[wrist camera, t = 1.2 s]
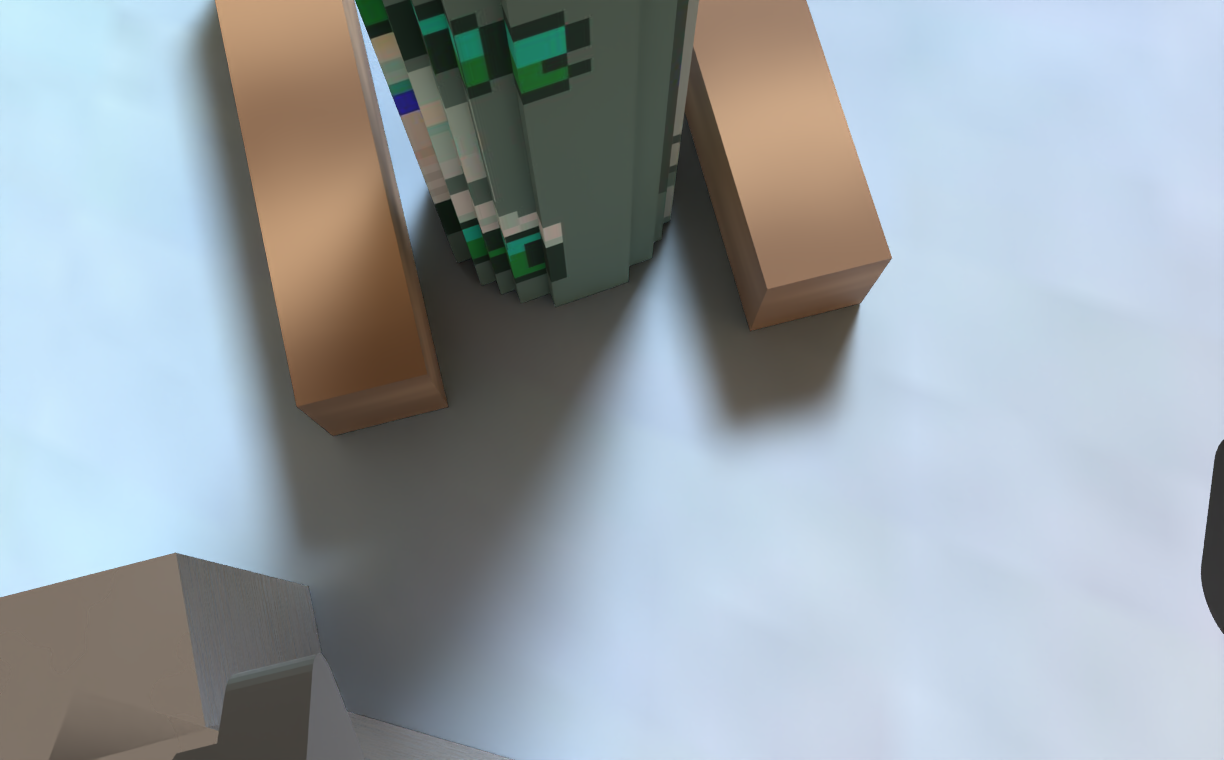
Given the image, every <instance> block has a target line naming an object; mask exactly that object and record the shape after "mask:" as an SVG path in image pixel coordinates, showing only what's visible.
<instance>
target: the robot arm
mask: <svg viewBox="0 0 1224 760" xmlns="http://www.w3.org/2000/svg"><path fill="white" fill-rule="evenodd" d="M1201 580H1202V587H1203V592H1204V595H1205V599H1206V602H1207V604H1208V607H1209V610H1210V612H1211V614H1212V616H1213V618H1214V620H1215V622H1216V623H1217V625H1218V627H1219V628H1220V630H1221V631H1222V633H1223V634H1224V440H1223V441H1222V442H1221V443H1220V445H1219V446H1218V449H1217V451H1216V455H1215V460H1214V468H1213V476H1212V484H1211V492H1210V500H1209V508H1208V516H1207V524H1206V532H1205V540H1204V548H1203V556H1202V564H1201ZM172 760H365V757H364V754H363V752H362V749H361V747H360V744H359V741H358V739H357V736H356V733H355V731H354V728H353V726H352V723H351V720H350V718H349V715H348V713H347V710H346V707H345V705H344V702H343V699H342V697H341V694H340V692H339V689H338V686H337V684H336V681H335V679H334V676H333V673H332V671H331V668H330V666H329V664H328V662H327V660H326V659H325V658H324V656H323V655H321V654H315V655H311V656H307V657H303V658H298V659H294V660H290V661H286V662H282V663H278V664H274V665H270V666H265V667H261V668H257V669H253V670H249V671H245V672H241V673H237V674H233V675H232V676H231V677H230V678H229V680H228V682H227V685H226V690H225V695H224V702H223V708H222V714H221V721H220V727H219V734H218V740H217V744H213V745H209V746H205V747H201V748H196V749H192V750H188V751H184V752H180V753H176V755H175V756H174V758H173V759H172Z"/></svg>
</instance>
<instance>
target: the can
mask: <svg viewBox="0 0 1224 760" xmlns="http://www.w3.org/2000/svg"><path fill="white" fill-rule="evenodd" d="M355 1H356V4H357V7H358V9H359V12H360V14H361V17H362V20H363V22H364V25H365V27H366V30H367V32H368V35H369V38H370V40H371V43H372V45H373V48H374V50H375V53H376V56H377V58H378V61H379V63H380V66H381V68H382V71H383V74H384V76H385V79H386V81H387V84H388V86H389V89H390V92H391V94H392V97H393V99H394V102H395V104H396V107H397V110H398V112H399V115H400V117H401V120H402V122H403V125H404V128H405V130H406V133H407V135H408V138H409V140H410V143H411V146H412V148H413V151H414V153H415V156H416V159H417V161H418V164H419V166H420V169H421V171H422V174H423V177H424V179H425V182H426V184H427V187H428V189H429V192H430V195H431V197H432V200H433V202H434V205H435V207H436V210H437V213H438V215H439V218H440V220H441V223H442V225H443V228H444V231H445V233H446V236H447V238H448V241H449V243H450V246H451V249H452V251H453V254H454V256H455V259H456V261H457V263H459V262H462V261H465V260H468V259H470V258H472V260H473V263H474V266H475V269H476V271H477V274H478V277H479V280H480V283H481V286H482V285H485V284H488V283H491V282H494V281H497V284H498V287H499V290H500V293H501V294H504V293H507V292H510V291H513V290H516V291H517V294H518V297H519V300H520V302H521V303H524V302H526V301H529V300H532V299H535V298H538V297H541V296H544V295H547V294H551V297H552V299H553V302H554V305H555V307H558V306H560V305H563V304H566V303H569V302H572V301H575V300H578V299H581V298H584V297H586V296H589V295H592V294H595V293H598V292H601V291H604V290H607V289H610V288H612V287H615V286H618V285H621V284H624V283H627V282H629V266H631V265H634V264H637V263H639V262H642V261H645V260H648V259H651V258H652V254H653V244H654V242H655V241H658V240H661V236H662V228H663V223H666V222H669V221H670V218H671V210H672V203H673V195H674V187H675V180H676V172H677V164H678V157H679V149H680V142H681V134H682V126H683V119H684V111H685V103H686V96H687V88H688V80H689V73H690V65H691V57H692V50H693V42H694V35H695V27H696V19H697V12H698V4H699V0H355Z"/></svg>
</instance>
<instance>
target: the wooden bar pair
mask: <svg viewBox="0 0 1224 760" xmlns="http://www.w3.org/2000/svg"><path fill="white" fill-rule="evenodd" d="M215 3H216V8H217V13H218V18H219V23H220V27H221V32H222V37H223V42H224V47H225V52H226V57H227V62H228V67H229V72H230V77H231V82H232V87H233V92H234V97H235V102H236V107H237V112H238V117H239V122H240V127H241V132H242V137H243V142H244V147H245V152H246V157H247V162H248V167H249V172H250V177H251V182H252V187H253V192H254V197H255V202H256V207H257V212H258V217H259V222H260V227H261V232H262V237H263V242H264V247H265V252H266V257H267V262H268V267H269V272H270V277H271V282H272V287H273V292H274V297H275V302H276V307H277V312H278V317H279V322H280V327H281V332H282V337H283V342H284V347H285V352H286V357H287V361H288V366H289V371H290V376H291V381H292V386H293V391H294V396H295V401H296V406H297V407H298V408H299V409H300V410H301V411H303V412H304V413H305V414H306V415H307V416H309V417H310V418H311V419H312V420H314V421H315V422H316V423H317V424H319V425H320V426H321V427H322V428H324V429H325V430H326V431H327V432H328V433H330V434H331V435H332V436H335V435H339V434H343V433H347V432H351V431H355V430H359V429H363V428H367V427H371V426H375V425H379V424H383V423H387V422H391V421H395V420H398V419H402V418H406V417H410V416H414V415H418V414H422V413H426V412H430V411H434V410H438V409H442V408H446V407H448V403H447V399H446V394H445V390H444V386H443V382H442V377H441V373H440V369H439V364H438V360H437V356H436V351H435V347H434V343H433V338H432V334H431V330H430V325H429V321H428V317H427V312H426V308H425V304H424V300H423V295H422V291H421V287H420V282H419V278H418V274H417V269H416V265H415V261H414V256H413V252H412V248H411V243H410V239H409V235H408V231H407V226H406V222H405V218H404V213H403V209H402V205H401V200H400V196H399V192H398V187H397V183H396V179H395V174H394V170H393V166H392V161H391V157H390V153H389V149H388V144H387V140H386V136H385V131H384V127H383V123H382V118H381V114H380V110H379V105H378V101H377V97H376V92H375V88H374V84H373V80H372V75H371V71H370V67H369V62H368V58H367V54H366V49H365V45H364V41H363V36H362V32H361V28H360V23H359V19H358V15H357V10H356V6H355V2H354V0H215ZM684 112H685V115H686V118H687V122H688V125H689V128H690V132H691V135H692V138H693V142H694V145H695V148H696V152H697V155H698V158H699V162H700V165H701V169H702V172H703V175H704V179H705V182H706V185H707V189H708V192H709V195H710V199H711V202H712V205H713V209H714V212H715V215H716V219H717V222H718V225H719V229H720V232H721V236H722V239H723V242H724V246H725V249H726V252H727V256H728V259H729V262H730V266H731V269H732V272H733V276H734V279H735V282H736V286H737V289H738V293H739V296H740V299H741V303H742V306H743V309H744V313H745V316H746V319H747V323H748V326H749V329H750V331H752V330H756V329H760V328H764V327H768V326H772V325H776V324H780V323H784V322H788V321H792V320H796V319H800V318H804V317H808V316H812V315H816V314H820V313H824V312H828V311H832V310H836V309H840V308H844V307H848V306H852V305H856V304H860V303H861V302H862V301H863V299H864V298H865V296H866V295H867V293H868V292H869V291H870V289H871V288H872V286H873V285H874V283H875V282H876V280H877V279H878V278H879V276H880V275H881V273H882V272H883V270H884V269H885V267H886V266H887V265H888V263H889V262H890V260H891V259H892V257H891V254H890V251H889V248H888V245H887V242H886V239H885V236H884V233H883V230H882V227H881V224H880V221H879V218H878V215H877V212H876V209H875V206H874V203H873V200H872V197H871V194H870V191H869V188H868V185H867V182H866V179H865V176H864V173H863V170H862V167H861V164H860V161H859V158H858V155H857V152H856V149H855V146H854V143H853V140H852V137H851V134H850V131H849V128H848V125H847V122H846V119H845V116H844V113H843V110H842V107H841V104H840V101H839V98H838V95H837V92H836V89H835V86H834V83H833V80H832V77H831V74H830V71H829V68H828V65H827V62H826V59H825V56H824V53H823V50H822V47H821V44H820V41H819V38H818V35H817V32H816V29H815V26H814V23H813V20H812V17H811V14H810V11H809V8H808V5H807V2H806V0H699V4H698V12H697V19H696V27H695V35H694V42H693V50H692V57H691V65H690V73H689V80H688V88H687V96H686V103H685V111H684Z"/></svg>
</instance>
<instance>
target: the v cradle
mask: <svg viewBox="0 0 1224 760" xmlns="http://www.w3.org/2000/svg"><path fill="white" fill-rule="evenodd" d="M315 654H321V655H322V652H321V647H320V641H319V636H318V631H317V626H316V621H315V616H314V611H313V606H312V601H311V595H310V590H309V586H306V585H302V584H298V583H294V582H290V581H286V580H282V579H278V578H274V577H270V576H266V575H262V574H258V573H254V572H251V571H247V570H243V569H239V568H235V567H231V566H227V565H223V564H219V563H215V562H211V561H207V560H203V559H199V558H195V557H191V556H187V555H183V554H179V553H173V554H169V555H165V556H161V557H157V558H153V559H149V560H146V561H142V562H138V563H134V564H130V565H126V566H122V567H118V568H114V569H110V570H106V571H102V572H99V573H95V574H91V575H87V576H83V577H79V578H75V579H71V580H67V581H63V582H59V583H55V584H52V585H48V586H44V587H40V588H36V589H32V590H28V591H24V592H20V593H16V594H12V595H8V596H5V597H1V598H0V760H172V759H173V758H174V756H175V755H176V753H180V752H184V751H188V750H192V749H196V748H201V747H205V746H209V745H213V744H217V740H218V734H219V727H220V721H221V714H222V708H223V702H224V695H225V690H226V685H227V682H228V680H229V678H230V677H231V676H232V675H233V674H237V673H241V672H245V671H249V670H253V669H257V668H261V667H265V666H270V665H274V664H278V663H282V662H286V661H290V660H294V659H298V658H303V657H307V656H311V655H315ZM347 713H348V715H349V718H350V720H351V723H352V726H353V728H354V731H355V733H356V736H357V739H358V741H359V744H360V747H361V749H362V752H363V754H364V757H365V760H513V759H509V758H506V757H502V756H499V755H496V754H492V753H489V752H485V751H482V750H478V749H475V748H472V747H468V746H465V745H461V744H458V743H454V742H451V741H448V740H444V739H441V738H437V737H434V736H430V735H427V734H424V733H420V732H417V731H413V730H410V729H406V728H403V727H400V726H396V725H393V724H389V723H386V722H382V721H379V720H376V719H372V718H369V717H365V716H362V715H358V714H355V713H352V712H348V711H347Z"/></svg>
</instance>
